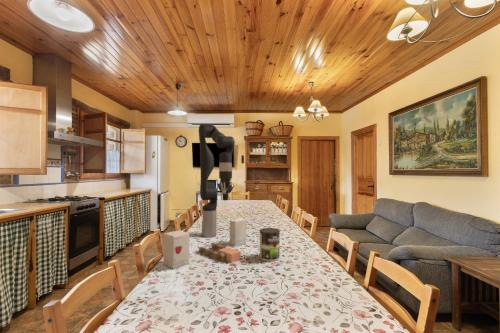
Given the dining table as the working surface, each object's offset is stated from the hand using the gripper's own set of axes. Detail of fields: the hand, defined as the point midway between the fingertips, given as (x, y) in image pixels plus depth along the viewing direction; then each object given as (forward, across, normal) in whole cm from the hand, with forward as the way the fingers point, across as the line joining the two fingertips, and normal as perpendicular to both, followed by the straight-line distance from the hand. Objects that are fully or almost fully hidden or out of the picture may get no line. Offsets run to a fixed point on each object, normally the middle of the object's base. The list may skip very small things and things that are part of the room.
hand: (225, 200), depth 151 cm
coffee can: (+27, +30, +4) cm, 41 cm away
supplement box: (+27, +4, -34) cm, 44 cm away
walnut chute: (+27, +8, -12) cm, 31 cm away
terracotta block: (+27, +17, -12) cm, 34 cm away
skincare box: (+27, +2, +8) cm, 28 cm away
